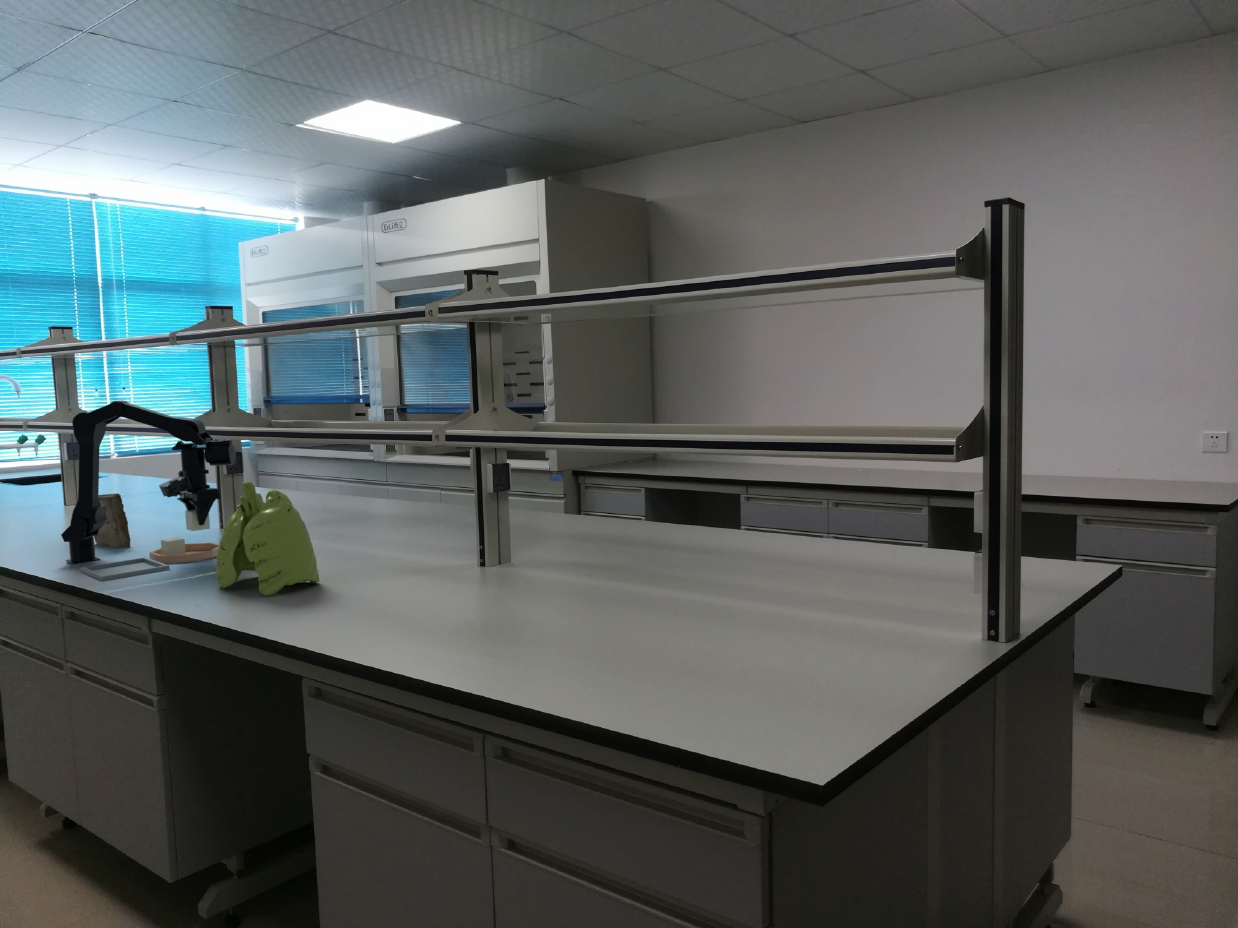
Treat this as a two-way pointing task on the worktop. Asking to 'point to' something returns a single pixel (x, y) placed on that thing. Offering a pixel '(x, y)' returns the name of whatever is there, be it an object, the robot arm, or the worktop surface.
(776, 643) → the worktop surface
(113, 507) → the mineral sample
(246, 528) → the lungs
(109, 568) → the parts tray
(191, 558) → the bowl
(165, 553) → the block
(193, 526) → the block
